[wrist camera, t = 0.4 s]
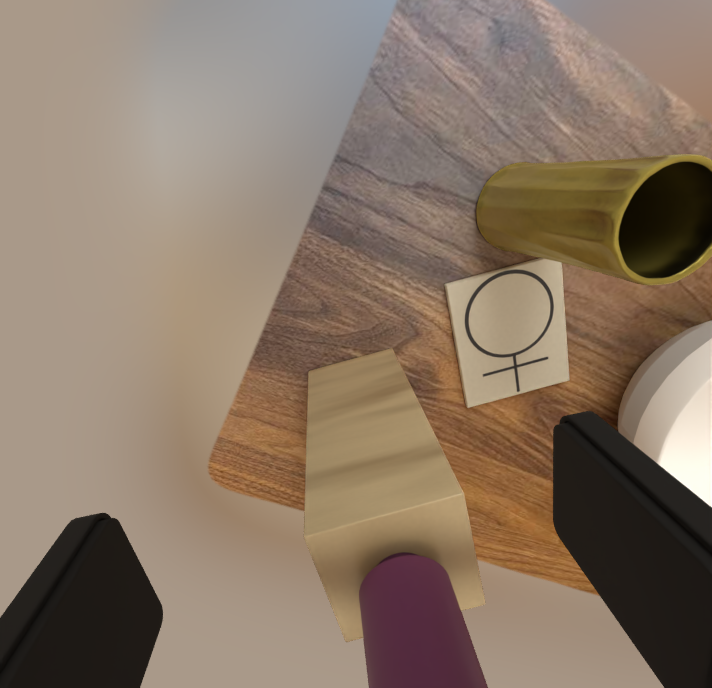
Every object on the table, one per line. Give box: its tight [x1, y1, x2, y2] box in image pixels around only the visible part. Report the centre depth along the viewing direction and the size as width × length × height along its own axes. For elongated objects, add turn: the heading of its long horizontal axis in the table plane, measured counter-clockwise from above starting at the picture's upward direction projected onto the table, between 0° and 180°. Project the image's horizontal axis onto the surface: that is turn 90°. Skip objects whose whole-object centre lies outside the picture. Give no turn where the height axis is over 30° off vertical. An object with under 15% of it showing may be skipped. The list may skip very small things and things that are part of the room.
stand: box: [304, 348, 485, 642], centre depth 27 cm, size 7×7×17 cm
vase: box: [476, 154, 712, 285], centre depth 24 cm, size 6×6×14 cm
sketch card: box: [444, 258, 569, 408], centre depth 33 cm, size 11×9×1 cm
